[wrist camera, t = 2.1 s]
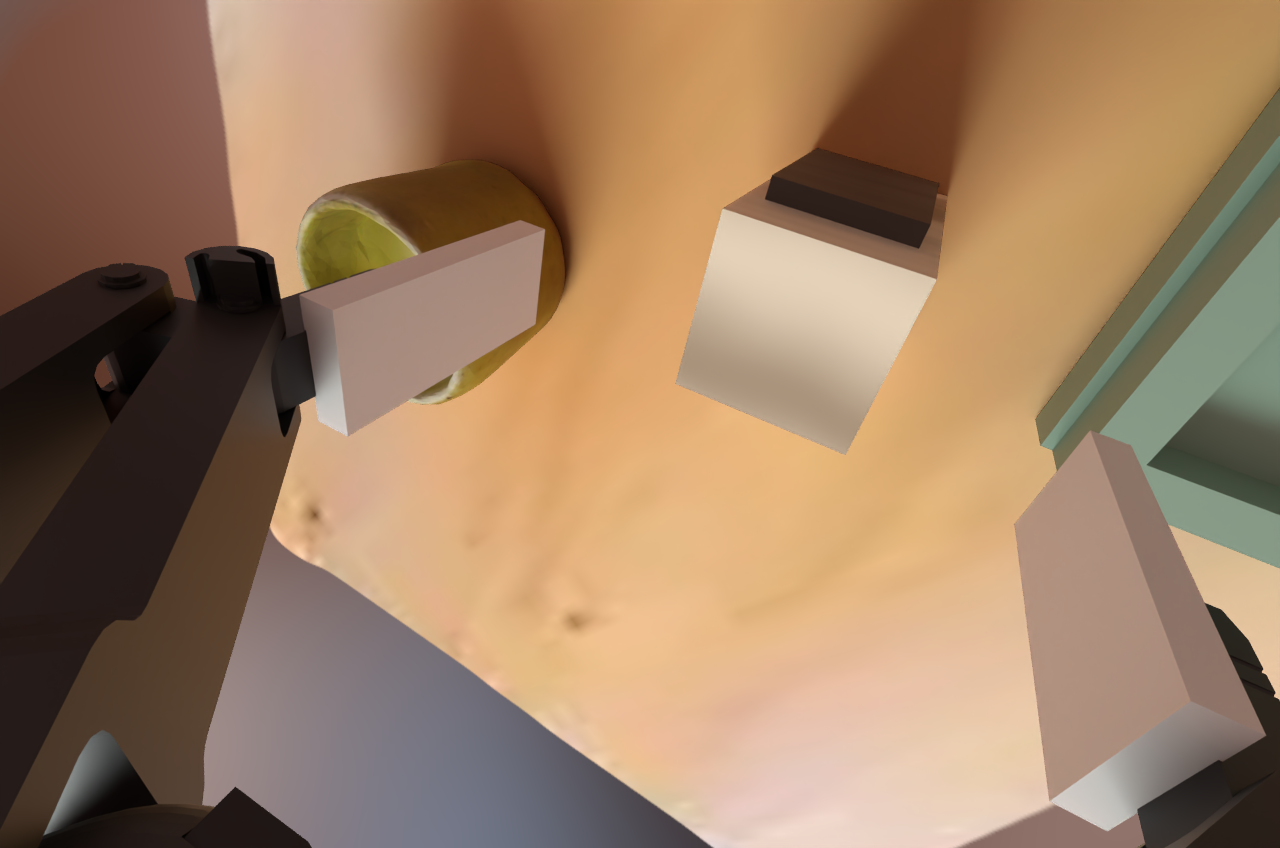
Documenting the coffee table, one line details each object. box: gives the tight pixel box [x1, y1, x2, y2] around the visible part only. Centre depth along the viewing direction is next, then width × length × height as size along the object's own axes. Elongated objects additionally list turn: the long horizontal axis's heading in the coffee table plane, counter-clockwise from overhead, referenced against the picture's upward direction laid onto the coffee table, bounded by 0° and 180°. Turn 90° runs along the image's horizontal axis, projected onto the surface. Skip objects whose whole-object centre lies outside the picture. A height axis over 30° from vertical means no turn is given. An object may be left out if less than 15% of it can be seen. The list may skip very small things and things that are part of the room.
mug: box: [296, 160, 565, 405], centre depth 27 cm, size 12×10×10 cm
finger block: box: [676, 148, 947, 455], centre depth 18 cm, size 6×5×10 cm
